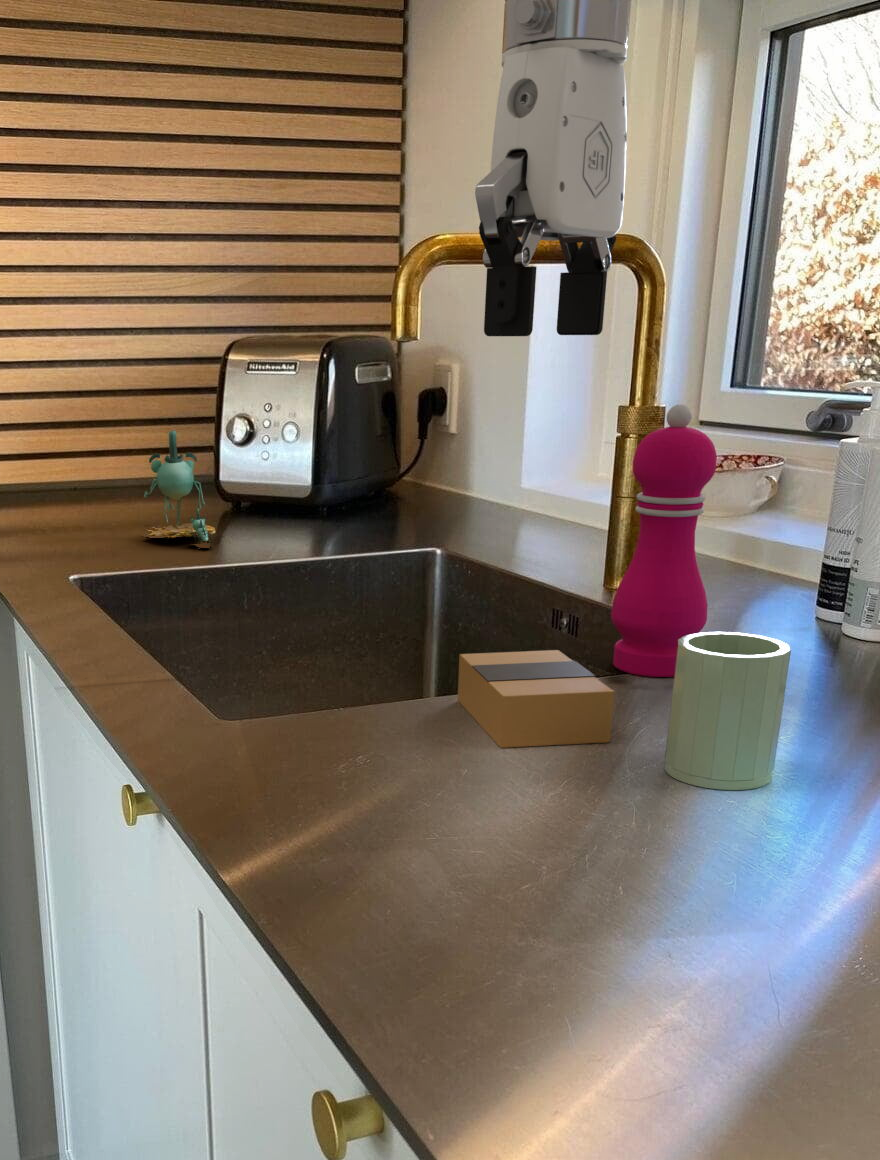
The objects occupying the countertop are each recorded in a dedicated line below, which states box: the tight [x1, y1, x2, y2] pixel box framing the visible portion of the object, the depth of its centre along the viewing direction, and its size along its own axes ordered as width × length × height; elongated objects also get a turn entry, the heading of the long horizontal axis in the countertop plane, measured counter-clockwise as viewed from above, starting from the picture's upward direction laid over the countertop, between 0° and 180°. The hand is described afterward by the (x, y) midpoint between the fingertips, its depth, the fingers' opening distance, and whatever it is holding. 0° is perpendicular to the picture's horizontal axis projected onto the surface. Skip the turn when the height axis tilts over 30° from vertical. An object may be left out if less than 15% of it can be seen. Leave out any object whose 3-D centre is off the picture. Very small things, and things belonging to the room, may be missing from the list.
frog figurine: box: [143, 429, 216, 550], centre depth 156 cm, size 10×18×15 cm, turn 13°
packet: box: [457, 649, 615, 749], centre depth 84 cm, size 11×7×4 cm
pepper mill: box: [610, 404, 717, 678], centre depth 93 cm, size 7×7×20 cm
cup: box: [664, 631, 792, 791], centre depth 73 cm, size 6×6×8 cm
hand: (544, 335), depth 80 cm, fingers open, 9 cm apart
